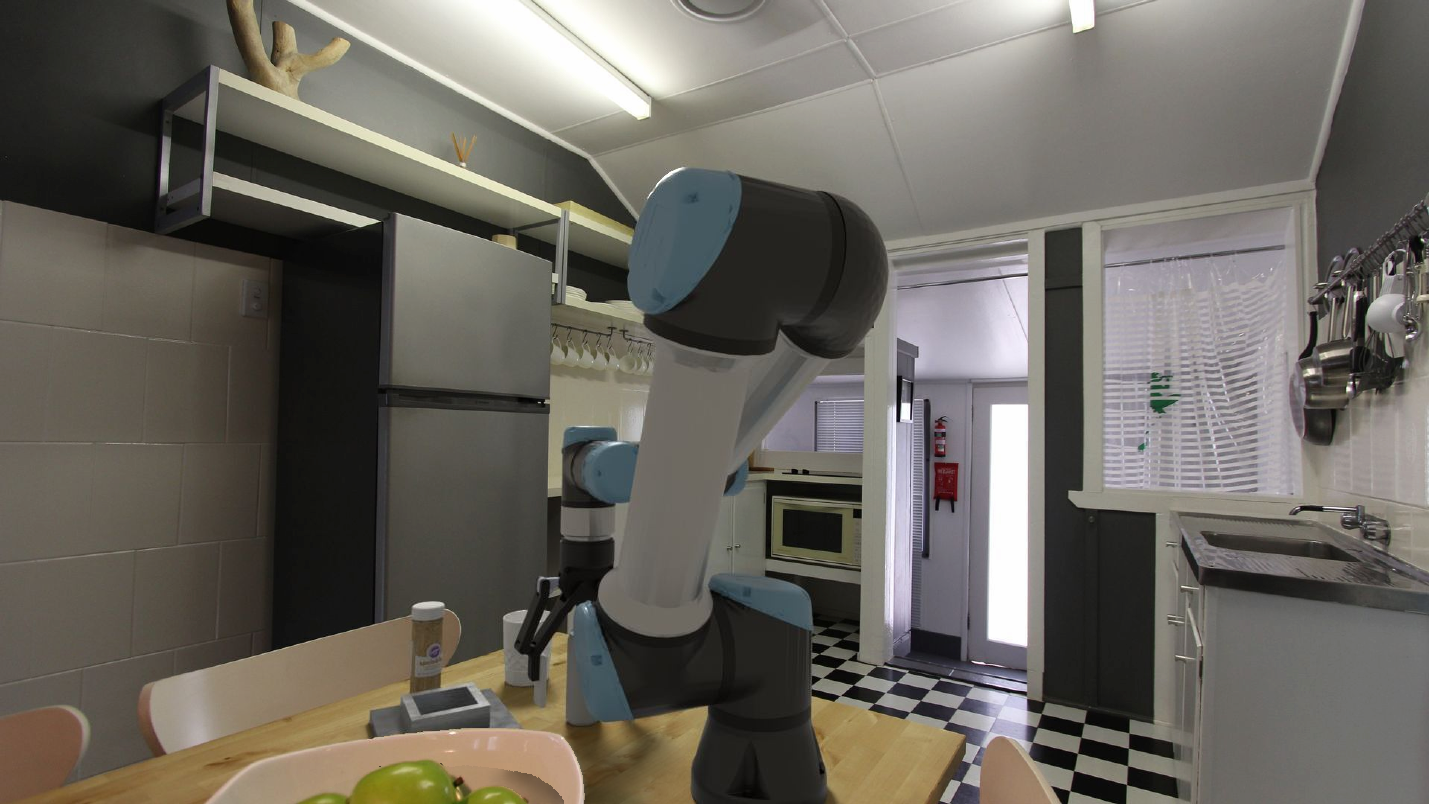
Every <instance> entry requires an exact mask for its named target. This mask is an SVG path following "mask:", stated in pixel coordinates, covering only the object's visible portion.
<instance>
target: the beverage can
mask: <svg viewBox="0 0 1429 804" xmlns="http://www.w3.org/2000/svg"><path fill="white" fill-rule="evenodd" d="M566 642H567V644H566V646H567V647H566V648H567V650H566V654H567V655H566V685H565V686H566V687H565V689H566V691H565V719H566V721H567V723H568V724H570V725H572V726H575V727H586V726H587V727H588V726H590V725H594V724H596V723H597V722H598V721H599V720H597V719H595V718H594V717H593V716H592V715H591V714H590V712H589V710H588V708H587V706H586V703H585V700H584V697H583V694H582V690H581V686H580V681H579V676H578V670H577V664H576V657H575V648H574V636H573V628H571V629H570V630H569V631H568V636H567V641H566Z"/></svg>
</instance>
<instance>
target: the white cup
mask: <svg viewBox="0 0 1429 804" xmlns="http://www.w3.org/2000/svg"><path fill="white" fill-rule="evenodd" d="M527 611H528V609H523V610H517V611H513V612H509V613H507V614H505V615H503V617H502V622H503V623H502V625H503V629H502V630H503V631H502V633H503V638H502V639H503V640H502V641H503V663H504V681H505V683H506V684H507V685H510V686H514V687H534V682H532V681H531V680H530V679H529V677H528V655H521V654H520V653H519V652H518V651H517V650H516V649H515V648H514V643H515V641H516V638H517V636H518V634H519V631H520V629H521V626H522V624H523V621H524V619H525V616H526V614H527ZM550 612H551V611H550V610H549V611H548V610H544V612H543V615H542V617H541V620H540V622H539V625H538V627H537V630H536V632H535V634H536V633H537V631H538V630H539V628H540V627H541V625H542V624H543V622H544V621H545V619H546V618H547V616H548V615H549V613H550ZM534 636H535V635H534ZM533 638H534V637H533ZM552 648H553V638H552V639H551V640H550V642H549V643H548V645H547V646H546V648H545V649H544V651H543V652H542V653H543V654H544V655H546V656H547V680H548V679H549V677H550V664H551V663H550V662H551V658H552Z"/></svg>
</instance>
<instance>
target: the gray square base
mask: <svg viewBox="0 0 1429 804" xmlns="http://www.w3.org/2000/svg"><path fill="white" fill-rule="evenodd" d="M369 725H370V728H371V732H372V736H373V738H374V737H384V736H390V735H394V734H405V733H417V732H423V731H440V730H449V729H461V728H519V729H523V727H522V725H520V723H519V721H518V720H517V719H516V718H515V717H514V716H513V714H512V713H511V712H510V711H509V709H508V708H507V707H506V705H505V704H504V703H503V702H502V700H501V699H500V698H499V697H498V695H497V694H496V692H494V690H493V689H492V688H491V687H490V688H488V687H487V688H485V689H484V688H483V689H479V688H478V686H477V684H475V682H474V681H473V682H472V681H471V682H467V683H466V682H465V683H461V684H456V685H450V686H444V687H441V688H438V689H432V690H426V691H421V692H415V693H410V694H409V693H405V694H401V695H400V704H397V705H393V706H392V705H391V706H387V707H382V708H376V709H372V710H369ZM523 730H524V729H523Z"/></svg>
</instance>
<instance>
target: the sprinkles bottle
mask: <svg viewBox="0 0 1429 804" xmlns="http://www.w3.org/2000/svg"><path fill="white" fill-rule="evenodd" d="M445 607H446V606H445V603H444V602H441V601H423V602H418V603H416V604H415V603H414V605H413V606H411V613H410V615H411V618H410V619H411V622H412V626H411V627H412V628H411V630H412V631H411V639H410V656H409V657H410V659H409V661H410V662H409V663H410V665H409V677H410V680H409V693H408V694H410V693H415V692H421V691H426V690H432V689H438V688H442V686H441V685H442V670H443V636H444V635H443V631H444V629H443V625H444V621H443V620H444V617H445V612H446V611H445V609H446V608H445Z"/></svg>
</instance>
